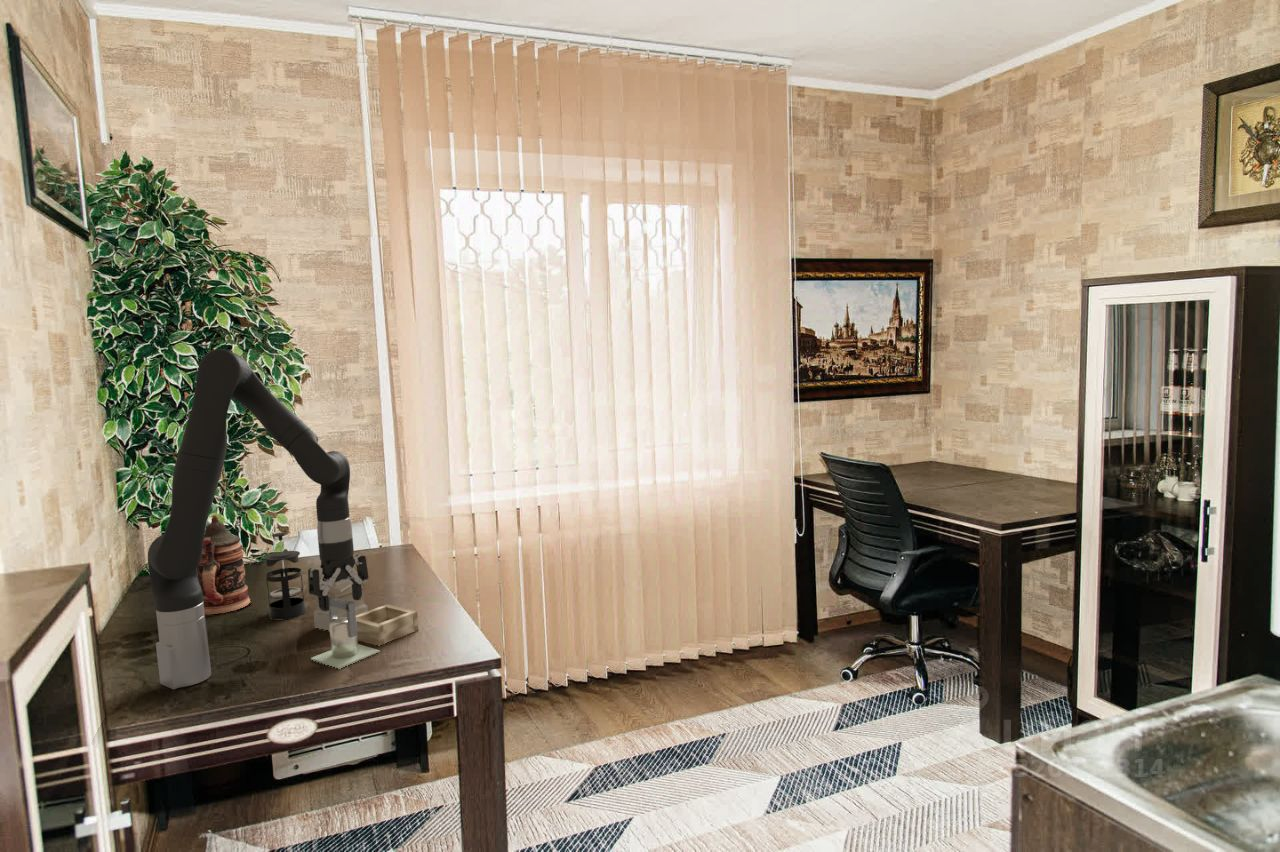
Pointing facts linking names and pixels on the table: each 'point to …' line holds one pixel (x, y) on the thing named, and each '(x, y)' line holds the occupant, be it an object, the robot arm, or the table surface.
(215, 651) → the table surface
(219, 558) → the beer stein
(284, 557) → the french press
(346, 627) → the pail
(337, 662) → the mat
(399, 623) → the holder
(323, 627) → the miniature monument
